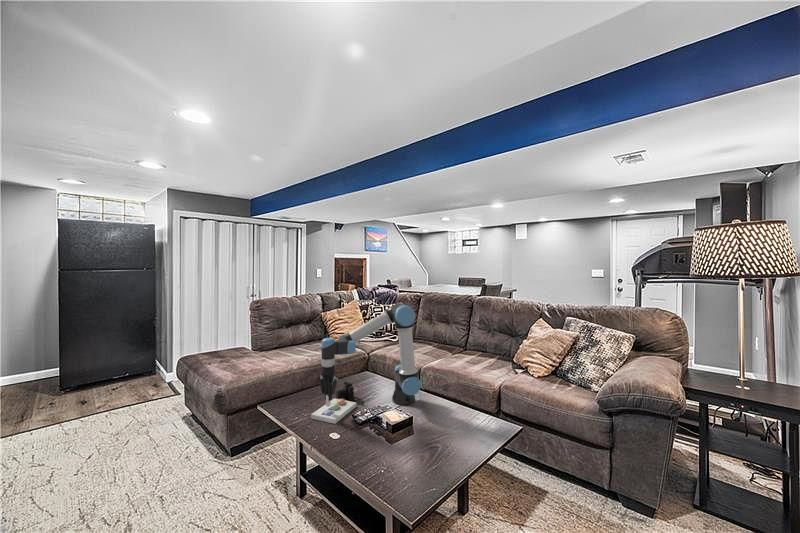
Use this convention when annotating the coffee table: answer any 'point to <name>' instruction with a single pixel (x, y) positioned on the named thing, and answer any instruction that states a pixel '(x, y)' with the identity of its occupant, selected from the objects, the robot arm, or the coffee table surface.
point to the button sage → (334, 406)
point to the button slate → (328, 412)
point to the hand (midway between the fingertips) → (328, 405)
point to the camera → (346, 392)
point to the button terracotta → (341, 402)
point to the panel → (333, 412)
